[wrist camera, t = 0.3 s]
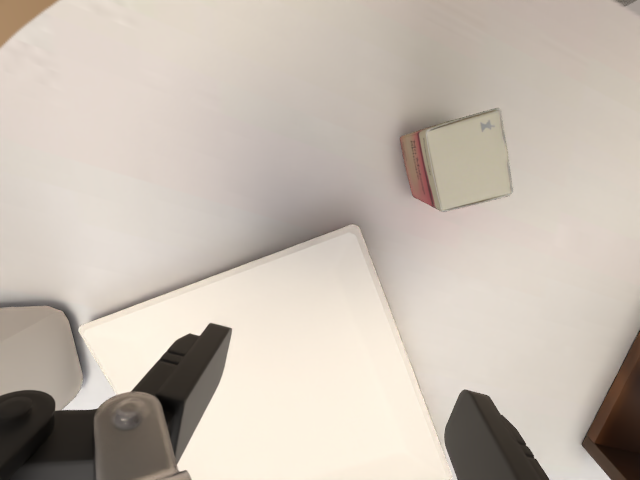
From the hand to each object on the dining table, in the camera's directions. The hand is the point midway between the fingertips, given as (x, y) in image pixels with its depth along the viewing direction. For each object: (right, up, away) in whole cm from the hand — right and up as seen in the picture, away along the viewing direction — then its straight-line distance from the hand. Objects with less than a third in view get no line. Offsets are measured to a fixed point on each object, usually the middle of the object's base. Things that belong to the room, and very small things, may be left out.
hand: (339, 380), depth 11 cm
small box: (+8, +11, +16) cm, 21 cm away
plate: (-5, -10, +21) cm, 24 cm away
